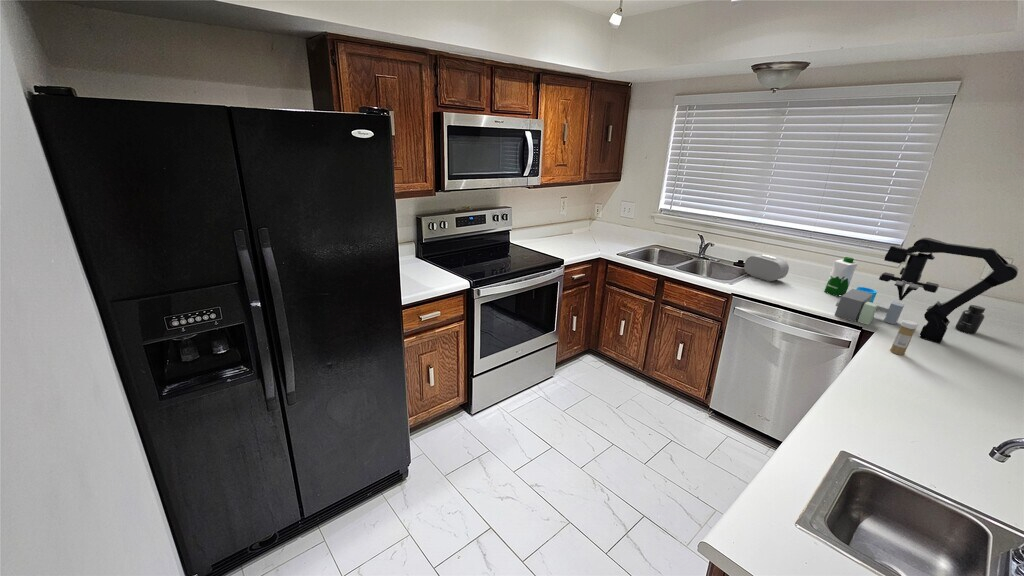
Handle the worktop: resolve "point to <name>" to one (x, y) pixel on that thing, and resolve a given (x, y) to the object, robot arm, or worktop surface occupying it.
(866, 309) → the green key
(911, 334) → the sprinkles bottle
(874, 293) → the mug
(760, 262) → the grey rounded oblong block
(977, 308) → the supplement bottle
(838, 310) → the grey curved block
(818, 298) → the worktop surface
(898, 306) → the grey key
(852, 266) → the milk carton
